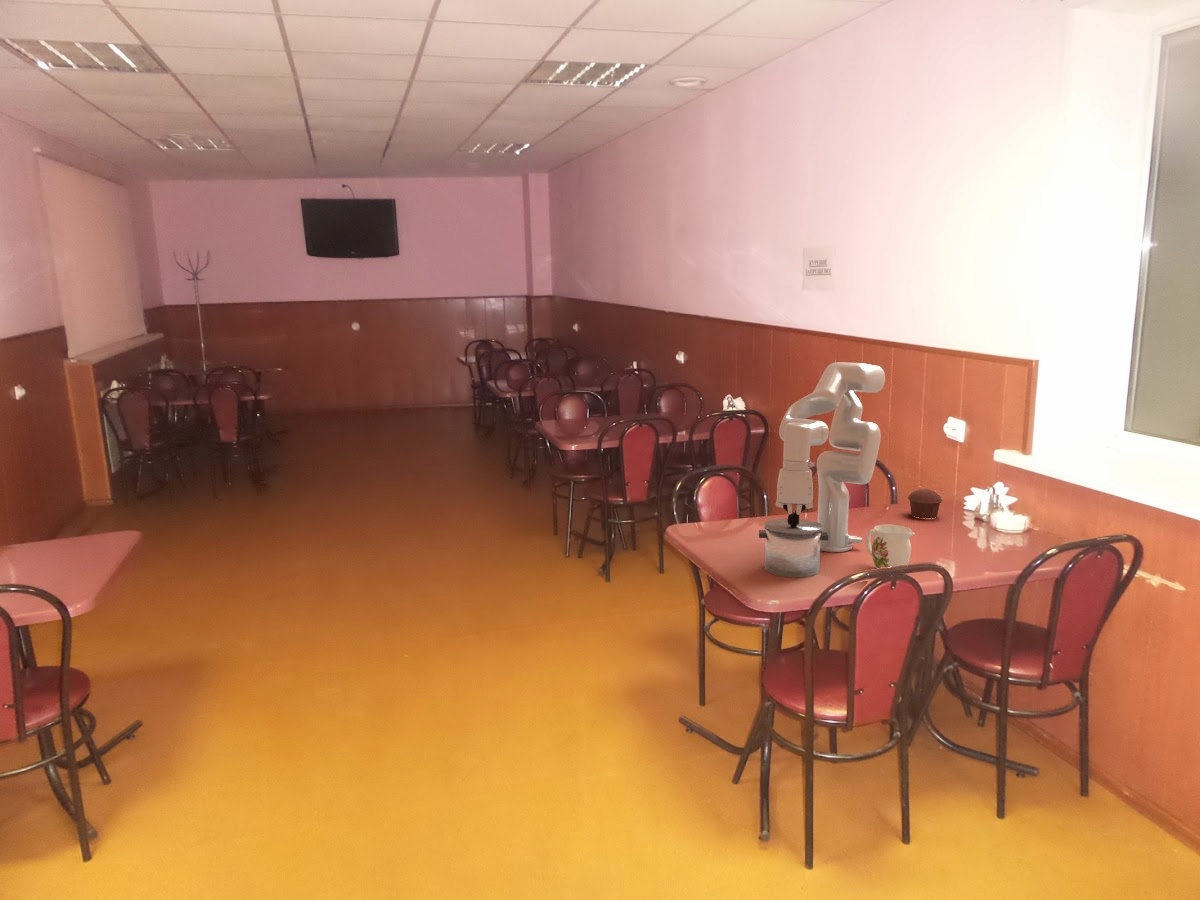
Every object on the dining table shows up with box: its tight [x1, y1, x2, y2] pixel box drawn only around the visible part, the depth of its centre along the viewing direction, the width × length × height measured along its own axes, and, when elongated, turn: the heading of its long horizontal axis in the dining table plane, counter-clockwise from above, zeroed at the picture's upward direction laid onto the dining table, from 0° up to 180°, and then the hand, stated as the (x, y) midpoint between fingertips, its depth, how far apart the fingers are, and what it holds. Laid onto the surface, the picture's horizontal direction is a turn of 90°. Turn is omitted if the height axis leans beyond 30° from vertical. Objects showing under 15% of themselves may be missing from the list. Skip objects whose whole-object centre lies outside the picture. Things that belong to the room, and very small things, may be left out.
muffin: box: [907, 488, 943, 519], centre depth 314 cm, size 12×11×10 cm
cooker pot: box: [758, 529, 828, 579], centre depth 258 cm, size 20×17×12 cm
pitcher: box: [865, 523, 916, 569], centre depth 255 cm, size 11×18×14 cm, turn 27°
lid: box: [763, 514, 823, 535], centre depth 256 cm, size 18×17×3 cm
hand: (793, 526), depth 253 cm, fingers closed
